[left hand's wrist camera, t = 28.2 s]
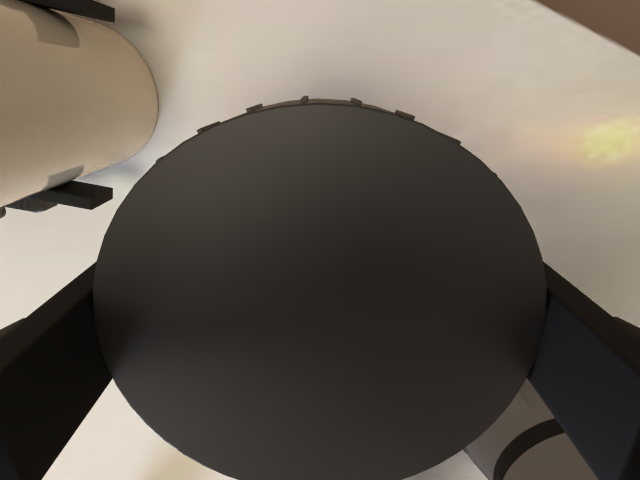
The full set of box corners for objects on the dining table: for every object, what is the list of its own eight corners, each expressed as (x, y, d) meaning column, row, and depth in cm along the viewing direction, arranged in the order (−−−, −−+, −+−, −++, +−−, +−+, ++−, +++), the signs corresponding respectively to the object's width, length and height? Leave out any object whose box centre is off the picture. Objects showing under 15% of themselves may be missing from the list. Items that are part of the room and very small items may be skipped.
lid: (214, 457, 15) (195, 524, 13) (62, 162, 11) (-6, 183, 9) (522, 393, 14) (561, 454, 11) (481, 37, 10) (530, 24, 7)
